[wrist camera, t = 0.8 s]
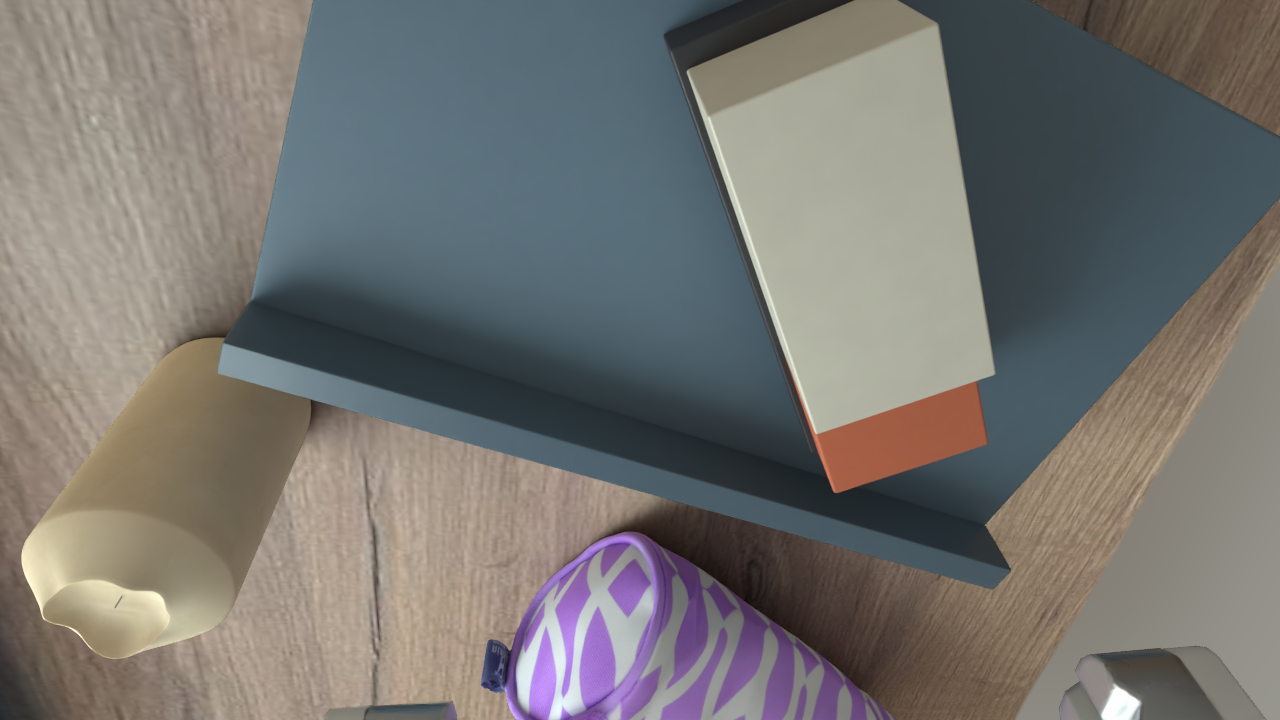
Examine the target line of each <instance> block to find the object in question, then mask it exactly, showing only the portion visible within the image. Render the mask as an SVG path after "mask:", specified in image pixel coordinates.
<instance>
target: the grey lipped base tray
mask: <svg viewBox="0 0 1280 720" xmlns="http://www.w3.org/2000/svg"><path fill="white" fill-rule="evenodd" d="M741 1H743V0H313V3H312V8H311V13H310V18H309V22H308V27H307V32H306V37H305V41H304V46H303V51H302V56H301V60H300V65H299V70H298V75H297V80H296V84H295V89H294V94H293V99H292V103H291V108H290V113H289V118H288V123H287V127H286V132H285V137H284V142H283V146H282V151H281V156H280V161H279V166H278V170H277V175H276V180H275V185H274V189H273V194H272V199H271V204H270V209H269V213H268V218H267V223H266V228H265V232H264V237H263V242H262V247H261V252H260V256H259V261H258V266H257V271H256V275H255V280H254V285H253V290H252V294H251V299H250V302H249V303H248V304H247V306H246V307H245V309H244V310H243V312H242V313H241V315H240V316H239V318H238V319H237V321H236V322H235V324H234V326H233V327H232V329H231V330H230V332H229V333H228V335H227V336H226V338H225V339H224V341H223V342H222V347H221V353H220V358H219V363H218V368H217V373H218V374H222V375H225V376H229V377H233V378H236V379H240V380H243V381H247V382H250V383H254V384H258V385H261V386H265V387H268V388H272V389H276V390H279V391H283V392H286V393H290V394H293V395H297V396H301V397H304V398H308V399H311V400H315V401H319V402H322V403H326V404H329V405H333V406H336V407H340V408H344V409H347V410H351V411H354V412H358V413H362V414H365V415H369V416H372V417H376V418H379V419H383V420H387V421H390V422H394V423H397V424H401V425H405V426H408V427H412V428H415V429H419V430H422V431H426V432H430V433H433V434H437V435H440V436H444V437H448V438H451V439H455V440H458V441H462V442H465V443H469V444H473V445H476V446H480V447H483V448H487V449H491V450H494V451H498V452H501V453H505V454H508V455H512V456H516V457H519V458H523V459H526V460H530V461H534V462H537V463H541V464H544V465H548V466H551V467H555V468H559V469H562V470H566V471H569V472H573V473H577V474H580V475H584V476H587V477H591V478H594V479H598V480H602V481H605V482H609V483H612V484H616V485H620V486H623V487H627V488H630V489H634V490H637V491H641V492H645V493H648V494H652V495H655V496H659V497H663V498H666V499H670V500H673V501H677V502H680V503H684V504H688V505H691V506H695V507H698V508H702V509H706V510H709V511H713V512H716V513H720V514H724V515H727V516H731V517H734V518H738V519H741V520H745V521H749V522H752V523H756V524H759V525H763V526H767V527H770V528H774V529H777V530H781V531H784V532H788V533H792V534H795V535H799V536H802V537H806V538H810V539H813V540H817V541H820V542H824V543H827V544H831V545H835V546H838V547H842V548H845V549H849V550H853V551H856V552H860V553H863V554H867V555H870V556H874V557H878V558H881V559H885V560H888V561H892V562H896V563H899V564H903V565H906V566H910V567H913V568H917V569H921V570H924V571H928V572H931V573H935V574H939V575H942V576H946V577H949V578H953V579H956V580H960V581H964V582H967V583H971V584H974V585H978V586H982V587H985V588H989V589H994V588H995V587H996V586H997V585H998V584H999V583H1000V582H1001V581H1002V580H1003V579H1004V578H1005V577H1006V576H1007V575H1008V574H1009V573H1010V572H1011V569H1010V567H1009V565H1008V563H1007V562H1006V560H1005V558H1004V557H1003V555H1002V553H1001V551H1000V550H999V548H998V546H997V545H996V543H995V541H994V539H993V538H992V536H991V534H990V533H989V531H988V529H987V527H986V526H984V525H985V524H986V523H987V522H988V521H989V520H990V519H991V518H992V516H993V515H994V514H995V513H996V512H997V511H998V510H999V509H1000V508H1001V507H1002V505H1003V504H1004V503H1005V502H1006V501H1007V500H1008V499H1009V498H1010V497H1011V495H1012V494H1013V493H1014V492H1015V491H1016V490H1017V489H1018V488H1019V487H1020V485H1021V484H1022V483H1023V482H1024V481H1025V480H1026V479H1027V478H1028V477H1029V475H1030V474H1031V473H1032V472H1033V471H1034V470H1035V469H1036V468H1037V467H1038V465H1039V464H1040V463H1041V462H1042V461H1043V460H1044V459H1045V458H1046V457H1047V455H1048V454H1049V453H1050V452H1051V451H1052V450H1053V449H1054V448H1055V447H1056V446H1057V444H1058V443H1059V442H1060V441H1061V440H1062V439H1063V438H1064V437H1065V436H1066V434H1067V433H1068V432H1069V431H1070V430H1071V429H1072V428H1073V427H1074V426H1075V424H1076V423H1077V422H1078V421H1079V420H1080V419H1081V418H1082V417H1083V416H1084V414H1085V413H1086V412H1087V411H1088V410H1089V409H1090V408H1091V407H1092V406H1093V404H1094V403H1095V402H1096V401H1097V400H1098V399H1099V398H1100V397H1101V396H1102V394H1103V393H1104V392H1105V391H1106V390H1107V389H1108V388H1109V387H1110V386H1111V384H1112V383H1113V382H1114V381H1115V380H1116V379H1117V378H1118V377H1119V376H1120V375H1121V373H1122V372H1123V371H1124V370H1125V369H1126V368H1127V367H1128V366H1129V365H1130V363H1131V362H1132V361H1133V360H1134V359H1135V358H1136V357H1137V356H1138V355H1139V353H1140V352H1141V351H1142V350H1143V349H1144V348H1145V347H1146V346H1147V345H1148V343H1149V342H1150V341H1151V340H1152V339H1153V338H1154V337H1155V336H1156V335H1157V333H1158V332H1159V331H1160V330H1161V329H1162V328H1163V327H1164V326H1165V325H1166V323H1167V322H1168V321H1169V320H1170V319H1171V318H1172V317H1173V316H1174V315H1175V314H1176V312H1177V311H1178V310H1179V309H1180V308H1181V307H1182V306H1183V305H1184V304H1185V302H1186V301H1187V300H1188V299H1189V298H1190V297H1191V296H1192V295H1193V294H1194V292H1195V291H1196V290H1197V289H1198V288H1199V287H1200V286H1201V285H1202V284H1203V282H1204V281H1205V280H1206V279H1207V278H1208V277H1209V276H1210V275H1211V274H1212V272H1213V271H1214V270H1215V269H1216V268H1217V267H1218V266H1219V265H1220V264H1221V262H1222V261H1223V260H1224V259H1225V258H1226V257H1227V256H1228V255H1229V254H1230V253H1231V251H1232V250H1233V249H1234V248H1235V247H1236V246H1237V245H1238V244H1239V243H1240V241H1241V240H1242V239H1243V238H1244V237H1245V236H1246V235H1247V234H1248V233H1249V231H1250V230H1251V229H1252V228H1253V227H1254V226H1255V225H1256V224H1257V223H1258V221H1259V220H1260V219H1261V218H1262V217H1263V216H1264V215H1265V214H1266V213H1267V211H1268V210H1269V209H1270V208H1271V207H1272V206H1273V205H1274V204H1275V203H1276V201H1277V200H1278V199H1279V198H1280V136H1278V135H1276V134H1274V133H1272V132H1270V131H1269V130H1267V129H1265V128H1263V127H1261V126H1259V125H1258V124H1256V123H1254V122H1252V121H1250V120H1248V119H1247V118H1245V117H1243V116H1241V115H1239V114H1237V113H1235V112H1234V111H1232V110H1230V109H1228V108H1226V107H1224V106H1223V105H1221V104H1219V103H1217V102H1215V101H1213V100H1212V99H1210V98H1208V97H1206V96H1204V95H1202V94H1201V93H1199V92H1197V91H1195V90H1193V89H1191V88H1189V87H1188V86H1186V85H1184V84H1182V83H1180V82H1178V81H1177V80H1175V79H1173V78H1171V77H1169V76H1167V75H1166V74H1164V73H1162V72H1160V71H1158V70H1156V69H1154V68H1153V67H1151V66H1149V65H1147V64H1145V63H1143V62H1142V61H1140V60H1138V59H1136V58H1134V57H1132V56H1131V55H1129V54H1127V53H1125V52H1123V51H1121V50H1119V49H1118V48H1116V47H1114V46H1112V45H1110V44H1108V43H1107V42H1105V41H1103V40H1101V39H1099V38H1097V37H1096V36H1094V35H1092V34H1090V33H1088V32H1086V31H1085V30H1083V29H1081V28H1079V27H1077V26H1075V25H1073V24H1072V23H1070V22H1068V21H1066V20H1064V19H1062V18H1061V17H1059V16H1057V15H1055V14H1053V13H1051V12H1050V11H1048V10H1046V9H1044V8H1042V7H1040V6H1038V5H1037V4H1035V3H1033V2H1031V1H1029V0H898V1H900V2H901V3H903V4H905V5H907V6H908V7H910V8H912V9H914V10H916V11H917V12H919V13H921V14H923V15H924V16H926V17H928V18H930V19H931V20H933V21H935V22H937V23H938V25H939V29H940V35H941V41H942V48H943V54H944V60H945V66H946V72H947V78H948V84H949V90H950V96H951V102H952V109H953V115H954V121H955V127H956V133H957V139H958V145H959V151H960V157H961V164H962V170H963V176H964V182H965V188H966V194H967V200H968V206H969V212H970V218H971V225H972V231H973V237H974V243H975V249H976V255H977V261H978V267H979V273H980V280H981V286H982V292H983V298H984V304H985V310H986V316H987V322H988V328H989V335H990V341H991V347H992V353H993V359H994V365H995V371H996V373H995V375H993V376H990V377H987V378H984V379H981V380H978V387H979V392H980V398H981V403H982V409H983V414H984V420H985V425H986V431H987V436H988V444H987V445H984V446H981V447H978V448H975V449H972V450H969V451H966V452H962V453H959V454H956V455H953V456H950V457H947V458H944V459H941V460H938V461H935V462H932V463H928V464H925V465H922V466H919V467H916V468H913V469H910V470H907V471H904V472H901V473H897V474H894V475H891V476H888V477H885V478H882V479H879V480H876V481H873V482H870V483H867V484H863V485H860V486H857V487H854V488H851V489H848V490H845V491H842V492H839V493H835V492H834V491H833V489H832V487H831V484H830V482H829V479H828V476H827V474H826V471H825V469H824V466H823V463H822V461H821V458H820V456H819V453H818V451H815V452H811V451H810V449H809V447H808V444H807V441H806V439H805V436H804V433H803V431H802V428H801V425H800V423H799V420H798V417H797V414H796V412H795V409H794V406H793V403H792V400H791V397H790V395H789V392H788V389H787V386H786V383H785V380H784V378H783V375H782V372H781V369H780V366H779V364H778V361H777V358H776V355H775V352H774V349H773V347H772V344H771V341H770V338H769V335H768V332H767V330H766V327H765V324H764V321H763V318H762V315H761V313H760V310H759V307H758V304H757V301H756V298H755V296H754V293H753V290H752V287H751V284H750V281H749V279H748V276H747V273H746V270H745V267H744V265H743V262H742V259H741V256H740V253H739V250H738V248H737V245H736V242H735V239H734V236H733V233H732V231H731V228H730V225H729V222H728V219H727V216H726V214H725V211H724V208H723V205H722V202H721V199H720V197H719V194H718V191H717V188H716V185H715V182H714V180H713V177H712V174H711V171H710V168H709V165H708V163H707V160H706V157H705V154H704V151H703V149H702V146H701V143H700V140H699V137H698V134H697V132H696V129H695V126H694V123H693V120H692V117H691V115H690V112H689V109H688V106H687V103H686V100H685V98H684V95H683V92H682V89H681V86H680V83H679V81H678V78H677V75H676V72H675V69H674V66H673V64H672V61H671V58H670V55H669V52H668V50H667V47H666V44H665V41H664V38H663V35H664V34H665V33H667V32H670V31H672V30H674V29H677V28H679V27H681V26H684V25H686V24H689V23H691V22H693V21H696V20H698V19H700V18H703V17H705V16H707V15H710V14H712V13H715V12H717V11H719V10H722V9H724V8H726V7H729V6H731V5H733V4H736V3H738V2H741Z"/></svg>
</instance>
